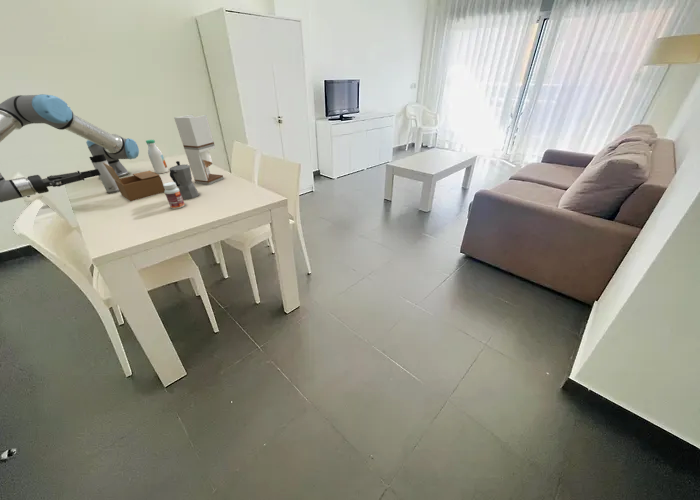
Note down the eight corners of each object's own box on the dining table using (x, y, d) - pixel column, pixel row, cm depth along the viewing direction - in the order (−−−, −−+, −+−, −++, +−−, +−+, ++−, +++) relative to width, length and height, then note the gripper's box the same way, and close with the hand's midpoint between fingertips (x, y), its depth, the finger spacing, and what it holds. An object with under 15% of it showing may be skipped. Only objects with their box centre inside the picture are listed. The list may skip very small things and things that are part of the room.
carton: (130, 201, 142) (122, 183, 137) (121, 195, 150) (113, 178, 145) (166, 191, 153) (159, 174, 148) (156, 186, 161) (149, 170, 156)
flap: (122, 183, 137) (121, 184, 137) (114, 178, 145) (113, 178, 145) (112, 167, 132) (111, 167, 132) (103, 162, 140) (102, 163, 140)
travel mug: (114, 193, 152) (95, 156, 142) (104, 193, 153) (85, 155, 143) (124, 189, 157) (107, 153, 147) (114, 189, 159) (96, 152, 148)
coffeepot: (187, 191, 152) (175, 158, 142) (204, 191, 152) (193, 157, 142) (171, 203, 139) (157, 166, 129) (190, 202, 139) (177, 166, 129)
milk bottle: (164, 173, 182) (152, 141, 171) (152, 174, 182) (139, 141, 172) (171, 170, 189) (159, 138, 178) (159, 170, 189) (147, 139, 178)
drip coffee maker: (209, 184, 161) (189, 117, 143) (195, 182, 165) (174, 117, 146) (223, 178, 170) (206, 115, 152) (210, 176, 174) (191, 114, 155)
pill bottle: (183, 208, 133) (174, 185, 127) (169, 209, 132) (159, 186, 126) (186, 203, 138) (178, 181, 132) (172, 204, 137) (164, 182, 131)
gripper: (35, 190, 125) (99, 177, 140) (39, 197, 118) (106, 182, 133) (24, 174, 121) (91, 162, 136) (28, 179, 114) (98, 166, 129)
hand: (99, 172), depth 135 cm, fingers closed
